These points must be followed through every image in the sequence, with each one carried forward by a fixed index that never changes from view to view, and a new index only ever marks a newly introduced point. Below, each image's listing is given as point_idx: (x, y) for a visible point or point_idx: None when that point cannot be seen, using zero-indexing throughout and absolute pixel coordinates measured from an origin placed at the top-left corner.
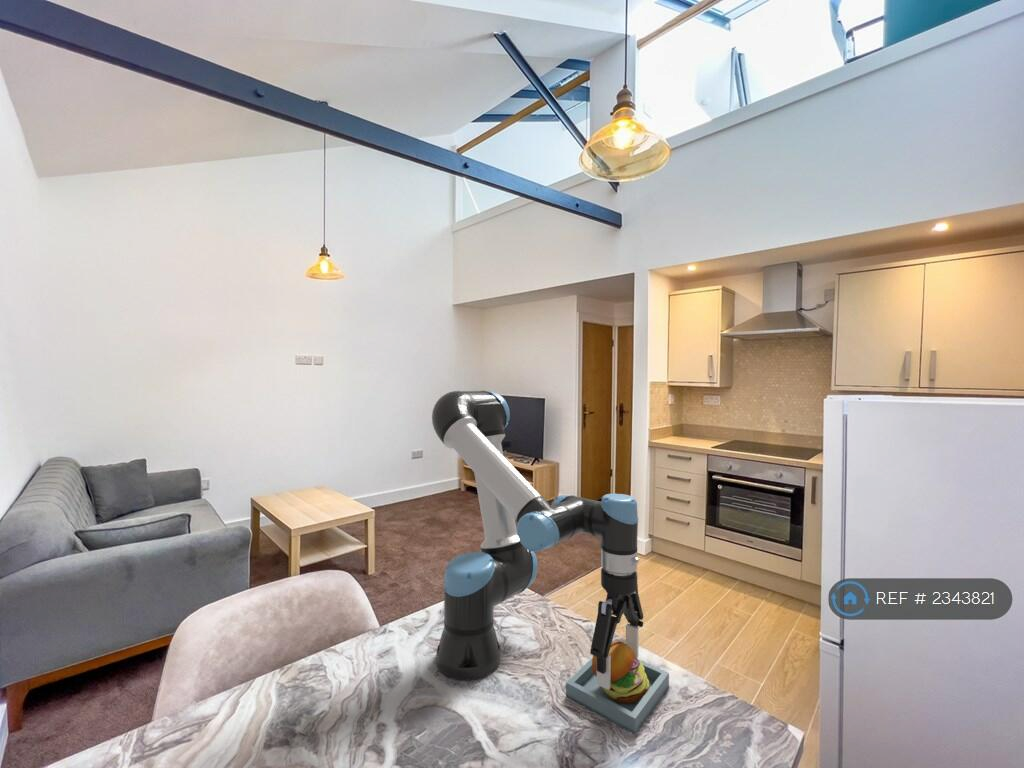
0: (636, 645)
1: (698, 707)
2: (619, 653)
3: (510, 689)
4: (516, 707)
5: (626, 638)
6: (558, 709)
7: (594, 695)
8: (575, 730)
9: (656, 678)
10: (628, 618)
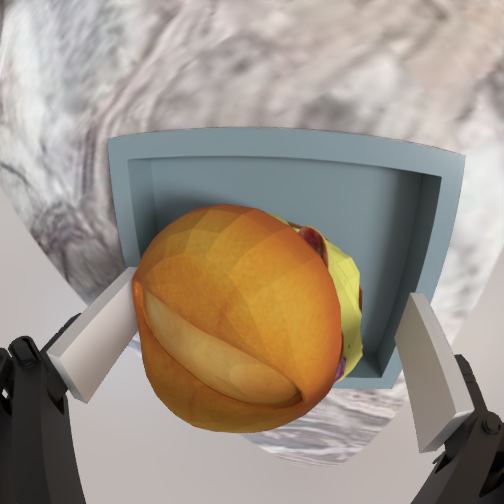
0: (405, 379)
1: (340, 406)
2: (175, 411)
3: (76, 13)
4: (44, 76)
5: (431, 348)
6: (91, 150)
7: (129, 253)
8: (79, 225)
9: (382, 349)
10: (442, 478)
